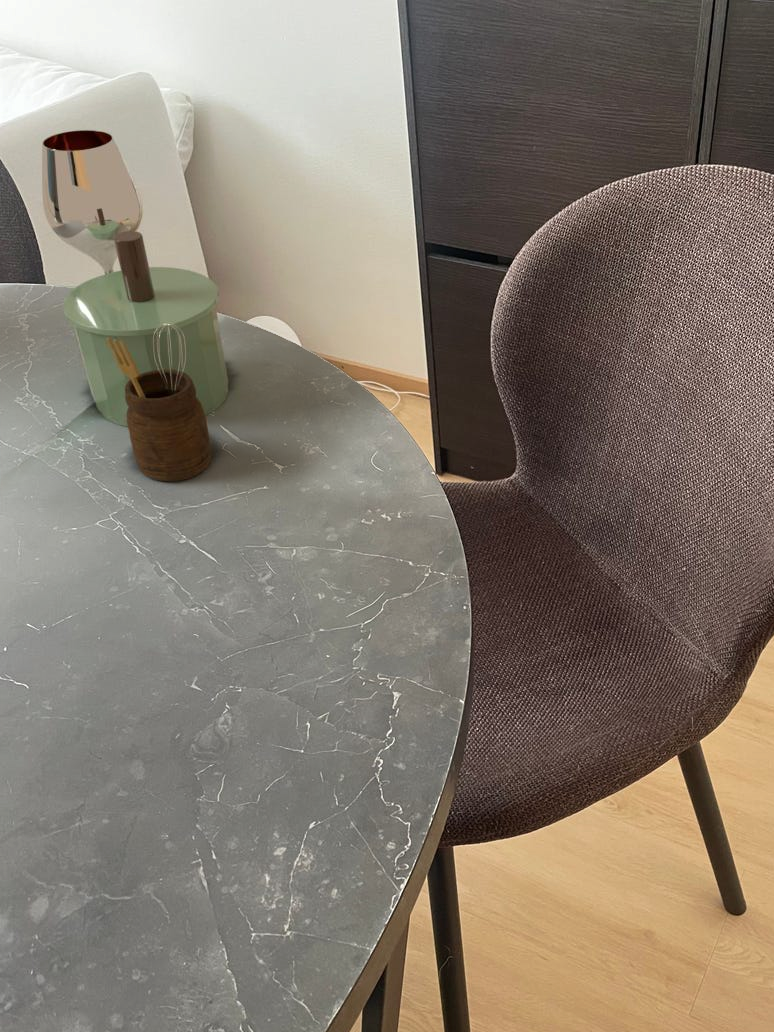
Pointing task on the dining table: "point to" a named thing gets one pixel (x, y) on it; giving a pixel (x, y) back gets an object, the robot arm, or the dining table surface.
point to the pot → (200, 364)
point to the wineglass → (89, 193)
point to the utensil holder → (164, 419)
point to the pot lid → (139, 295)
